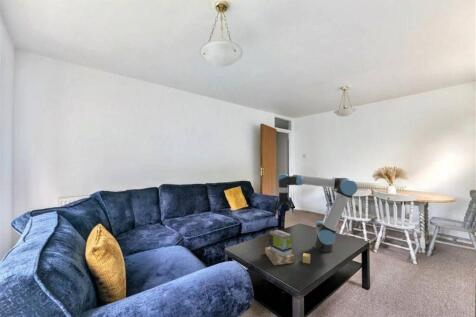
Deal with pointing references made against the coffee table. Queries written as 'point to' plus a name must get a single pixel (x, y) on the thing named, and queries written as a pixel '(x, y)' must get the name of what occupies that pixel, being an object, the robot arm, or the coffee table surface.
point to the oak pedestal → (279, 257)
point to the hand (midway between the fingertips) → (284, 217)
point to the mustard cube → (306, 258)
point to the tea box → (280, 242)
